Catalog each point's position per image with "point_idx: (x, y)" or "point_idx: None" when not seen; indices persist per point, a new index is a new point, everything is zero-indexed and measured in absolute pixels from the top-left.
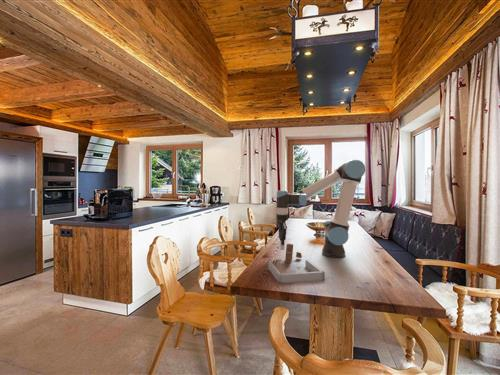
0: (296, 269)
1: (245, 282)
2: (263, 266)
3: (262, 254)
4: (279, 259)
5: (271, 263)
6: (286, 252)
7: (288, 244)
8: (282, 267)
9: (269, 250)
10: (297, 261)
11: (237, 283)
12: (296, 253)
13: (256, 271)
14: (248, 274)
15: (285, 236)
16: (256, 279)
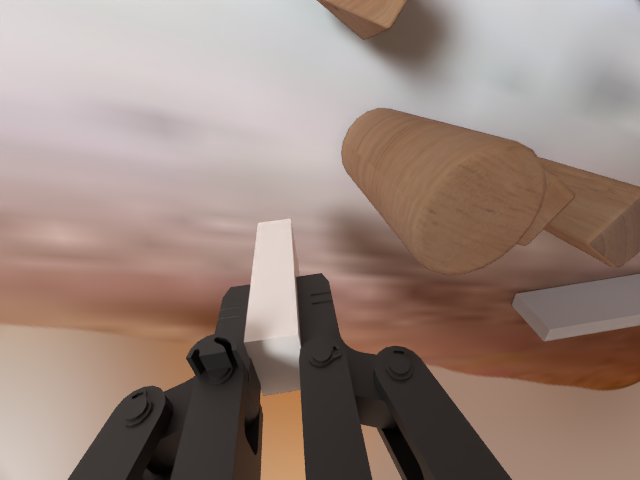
0: (633, 124)
1: (614, 373)
2: (462, 326)
3: (182, 334)
4: (330, 226)
5: (588, 327)
6: (622, 263)
7: (496, 250)
8: None
9: (4, 286)
10: (428, 41)
11: (604, 390)
12: (383, 30)
13: (522, 350)
14: (541, 372)
15: (477, 445)
16: (614, 346)
